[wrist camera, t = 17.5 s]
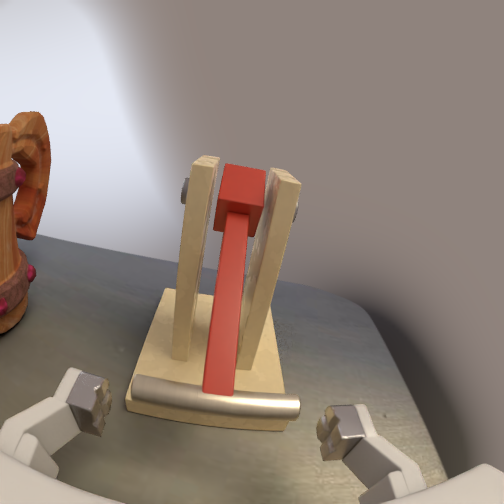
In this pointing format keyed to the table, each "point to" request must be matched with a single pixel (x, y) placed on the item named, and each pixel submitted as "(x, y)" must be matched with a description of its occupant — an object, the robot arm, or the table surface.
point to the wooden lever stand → (200, 306)
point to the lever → (225, 319)
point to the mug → (20, 207)
